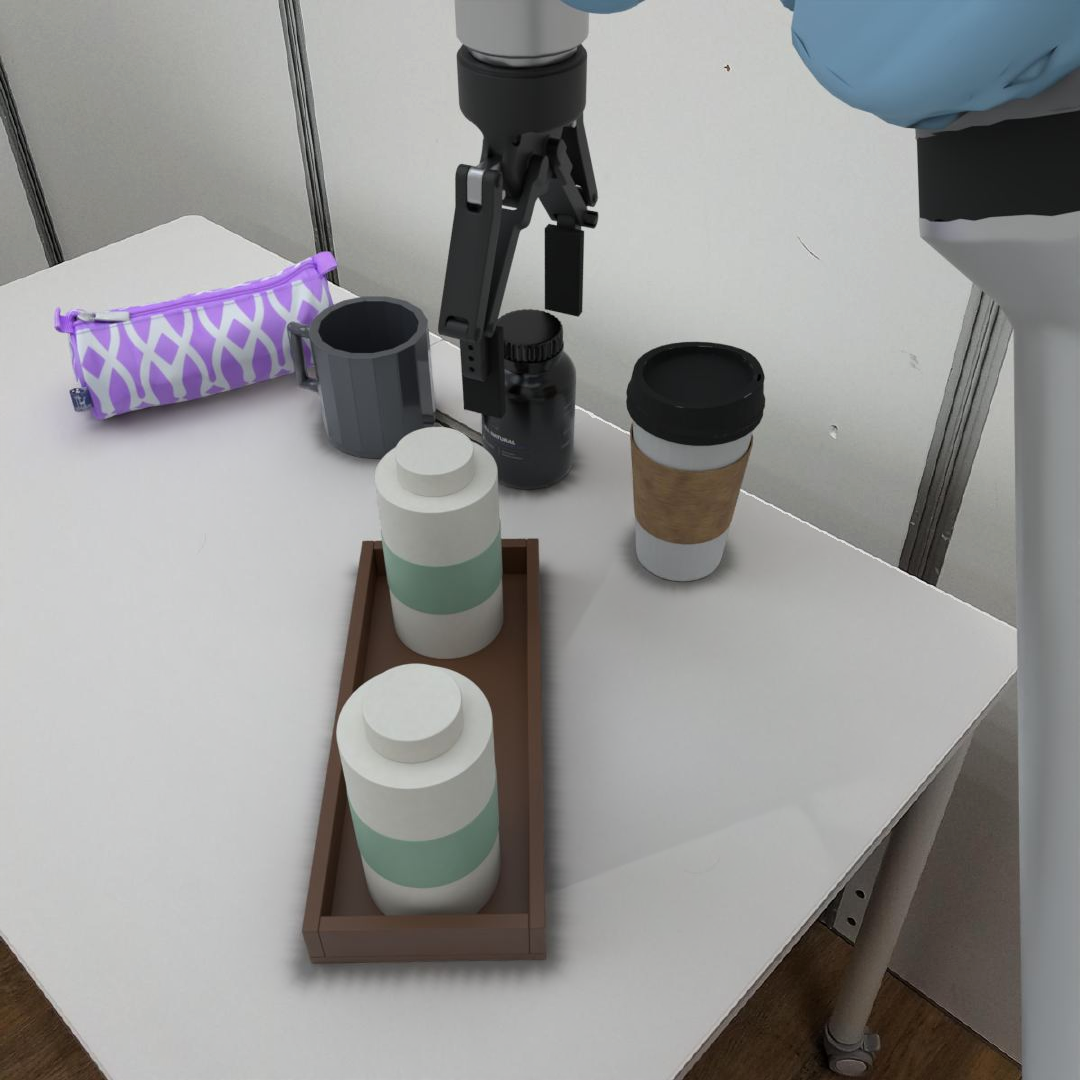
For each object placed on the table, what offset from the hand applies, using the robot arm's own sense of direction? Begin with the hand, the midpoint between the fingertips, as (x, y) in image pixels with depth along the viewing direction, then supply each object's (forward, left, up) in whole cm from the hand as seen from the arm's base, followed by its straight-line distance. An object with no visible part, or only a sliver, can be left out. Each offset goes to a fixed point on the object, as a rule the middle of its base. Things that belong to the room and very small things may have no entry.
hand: (526, 358), depth 78 cm
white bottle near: (-31, +17, -9) cm, 36 cm away
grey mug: (+10, +10, -9) cm, 17 cm away
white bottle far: (-14, +11, -9) cm, 20 cm away
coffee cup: (-13, -6, -9) cm, 17 cm away
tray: (-22, +14, -9) cm, 28 cm away
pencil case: (+20, +20, -9) cm, 30 cm away
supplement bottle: (0, 0, -9) cm, 9 cm away
